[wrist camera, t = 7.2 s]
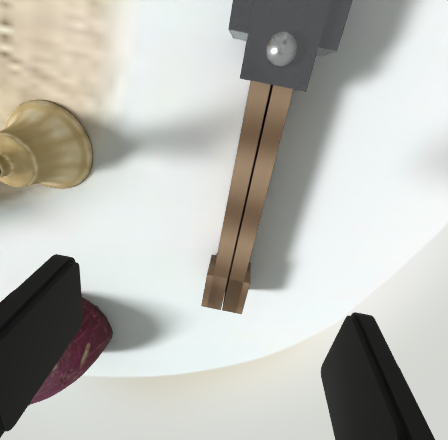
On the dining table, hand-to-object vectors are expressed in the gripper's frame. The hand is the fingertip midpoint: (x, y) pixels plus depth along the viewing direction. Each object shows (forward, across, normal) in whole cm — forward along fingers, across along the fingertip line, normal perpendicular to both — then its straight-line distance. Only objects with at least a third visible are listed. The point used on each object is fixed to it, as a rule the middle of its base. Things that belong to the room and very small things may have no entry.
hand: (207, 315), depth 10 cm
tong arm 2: (+18, 0, +3) cm, 18 cm away
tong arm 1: (+18, -2, +3) cm, 19 cm away
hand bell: (+19, +18, +2) cm, 26 cm away
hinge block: (+19, -1, -11) cm, 22 cm away
